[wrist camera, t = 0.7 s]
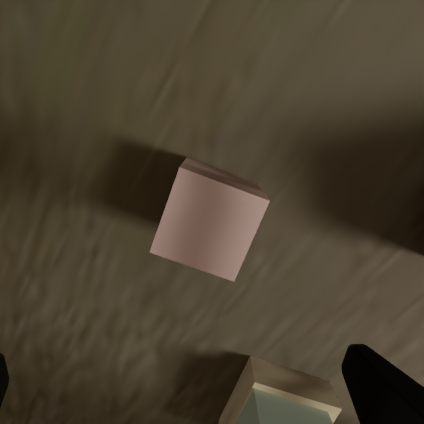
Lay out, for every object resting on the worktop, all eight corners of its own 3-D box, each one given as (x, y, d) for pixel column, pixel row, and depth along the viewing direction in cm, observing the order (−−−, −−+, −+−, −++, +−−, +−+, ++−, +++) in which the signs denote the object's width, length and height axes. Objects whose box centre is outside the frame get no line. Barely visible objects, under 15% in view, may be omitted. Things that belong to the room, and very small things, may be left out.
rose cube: (256, 183, 21) (269, 201, 16) (229, 247, 22) (233, 281, 18) (187, 156, 21) (179, 167, 16) (163, 224, 22) (149, 252, 17)
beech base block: (327, 377, 26) (342, 409, 23) (292, 437, 28) (301, 473, 25) (249, 352, 25) (254, 382, 22) (218, 415, 27) (219, 450, 24)
